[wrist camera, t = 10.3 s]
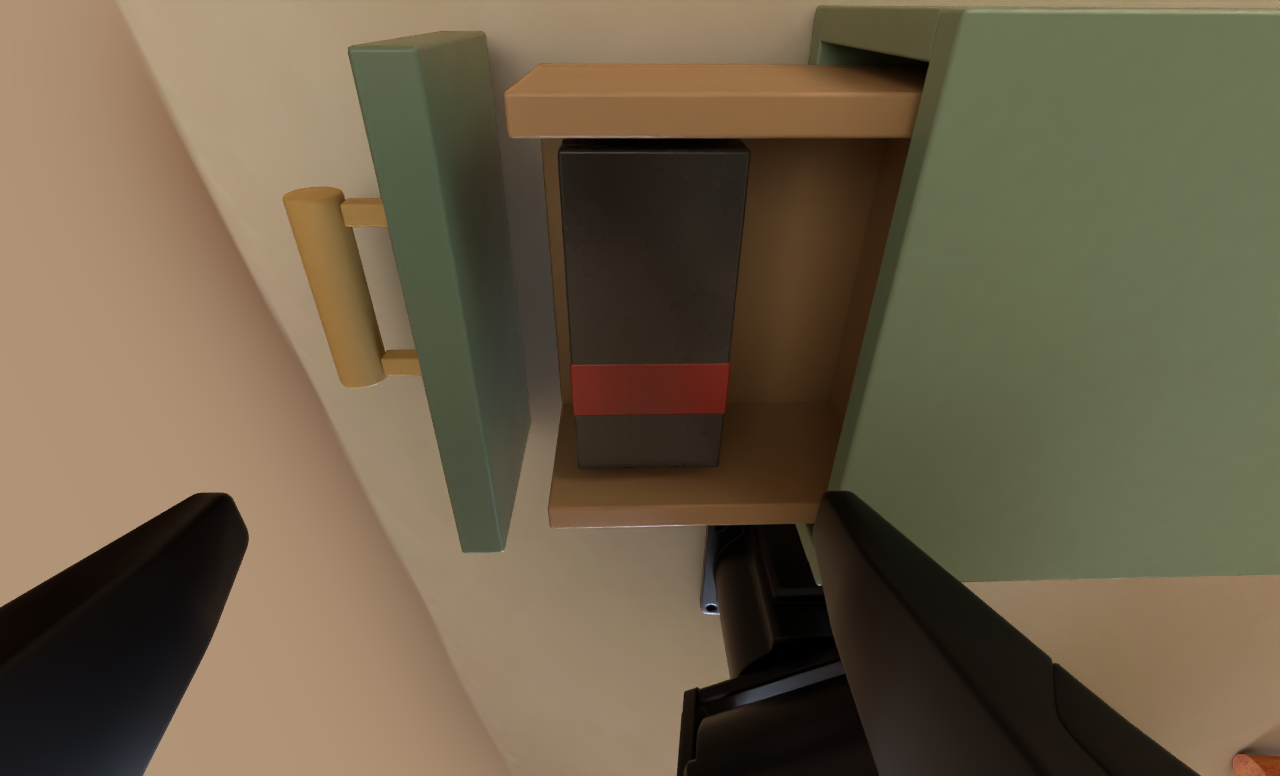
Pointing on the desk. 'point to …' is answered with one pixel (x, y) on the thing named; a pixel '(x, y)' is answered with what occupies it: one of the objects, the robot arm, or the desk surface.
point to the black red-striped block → (651, 294)
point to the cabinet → (1074, 293)
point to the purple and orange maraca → (1256, 765)
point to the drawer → (484, 278)
